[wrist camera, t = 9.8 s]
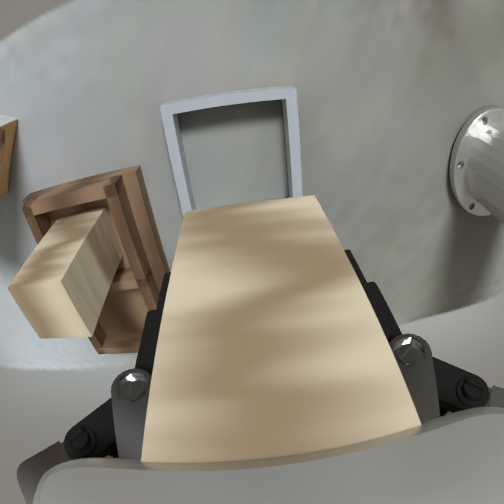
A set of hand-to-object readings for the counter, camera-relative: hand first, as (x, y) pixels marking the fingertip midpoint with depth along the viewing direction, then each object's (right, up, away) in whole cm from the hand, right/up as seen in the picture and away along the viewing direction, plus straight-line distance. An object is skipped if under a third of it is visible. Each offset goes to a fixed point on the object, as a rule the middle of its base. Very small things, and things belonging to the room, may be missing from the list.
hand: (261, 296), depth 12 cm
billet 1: (-15, +3, +15) cm, 21 cm away
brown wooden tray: (-15, 0, +19) cm, 24 cm away
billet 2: (0, +1, +2) cm, 3 cm away
